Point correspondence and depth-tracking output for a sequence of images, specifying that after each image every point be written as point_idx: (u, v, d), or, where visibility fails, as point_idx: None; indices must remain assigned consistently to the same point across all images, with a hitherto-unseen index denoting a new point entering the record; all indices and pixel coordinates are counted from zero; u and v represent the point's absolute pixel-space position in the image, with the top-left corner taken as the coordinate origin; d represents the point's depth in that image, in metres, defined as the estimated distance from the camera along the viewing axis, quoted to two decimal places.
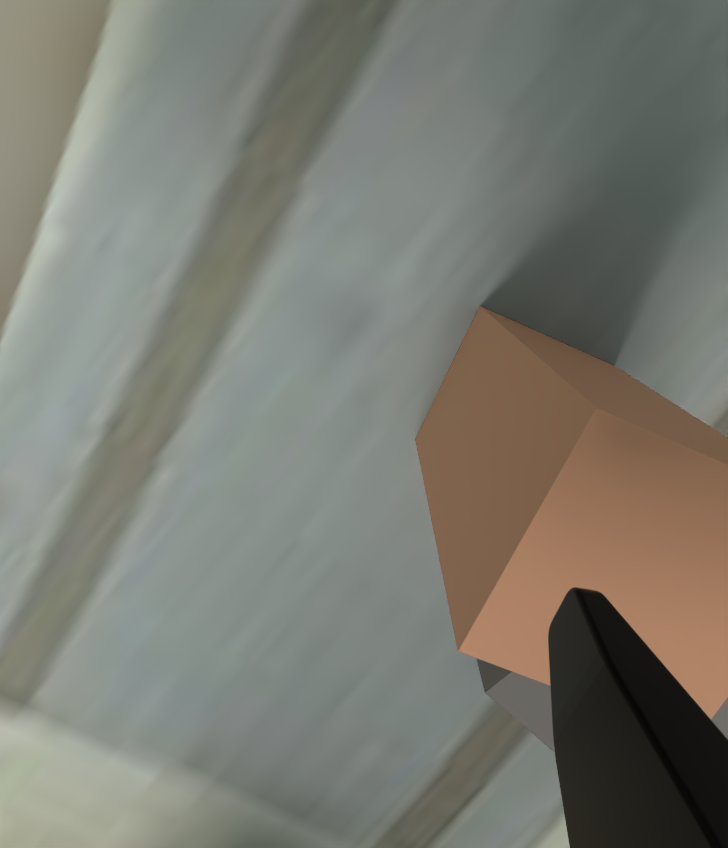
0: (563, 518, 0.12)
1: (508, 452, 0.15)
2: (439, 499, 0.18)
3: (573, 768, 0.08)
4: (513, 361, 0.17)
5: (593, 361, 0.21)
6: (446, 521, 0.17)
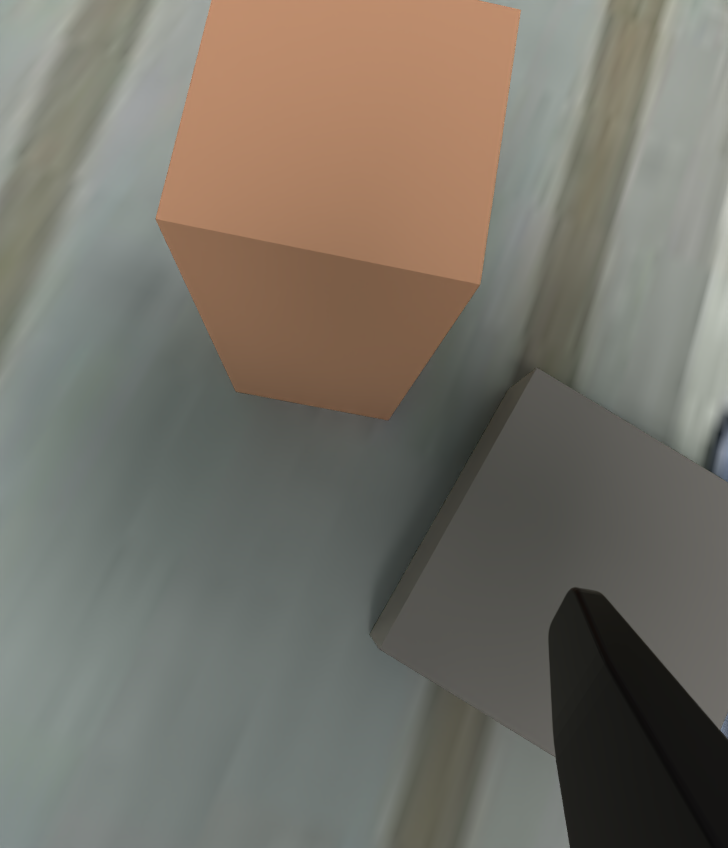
0: (230, 49, 0.11)
1: None
2: None
3: (573, 768, 0.08)
4: None
5: None
6: None
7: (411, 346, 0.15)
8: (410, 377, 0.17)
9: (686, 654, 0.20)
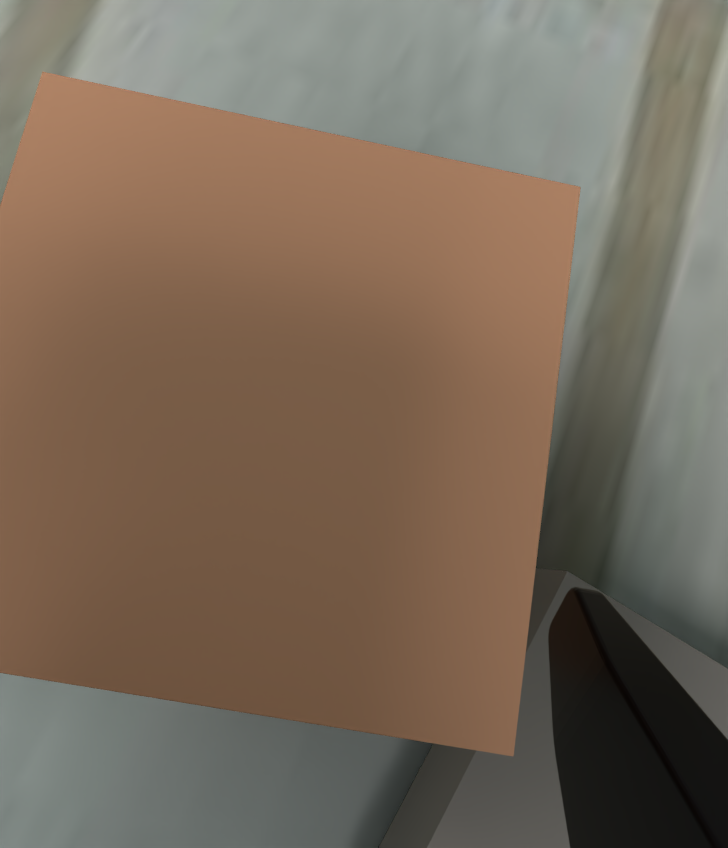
0: (37, 278, 0.06)
1: None
2: None
3: (573, 768, 0.08)
4: None
5: None
6: None
7: None
8: None
9: None
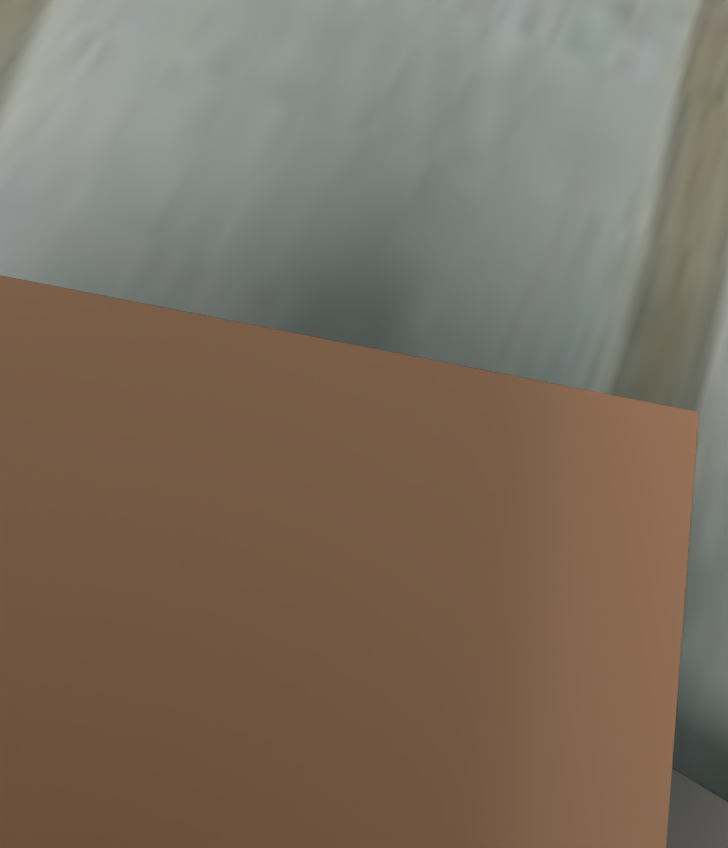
0: None
1: None
2: None
3: None
4: None
5: None
6: None
7: None
8: None
9: None
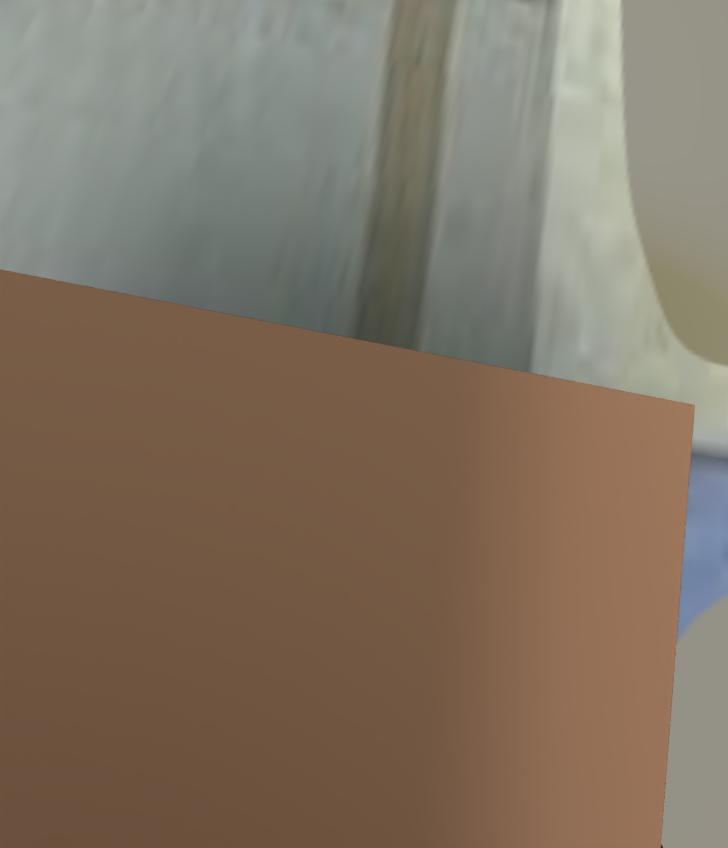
0: None
1: None
2: None
3: None
4: None
5: None
6: None
7: None
8: None
9: None
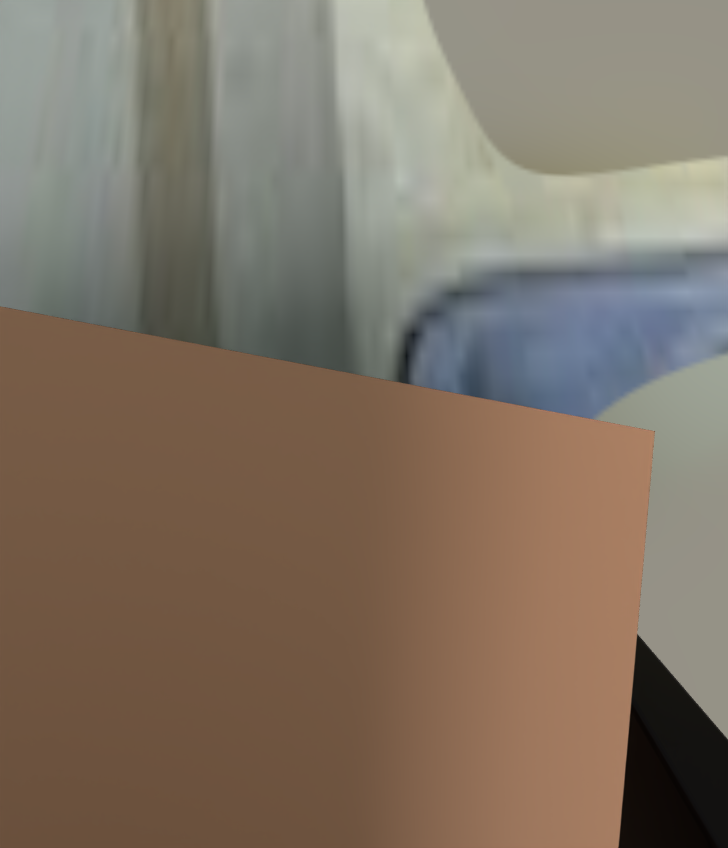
0: None
1: None
2: None
3: None
4: None
5: None
6: None
7: None
8: None
9: None
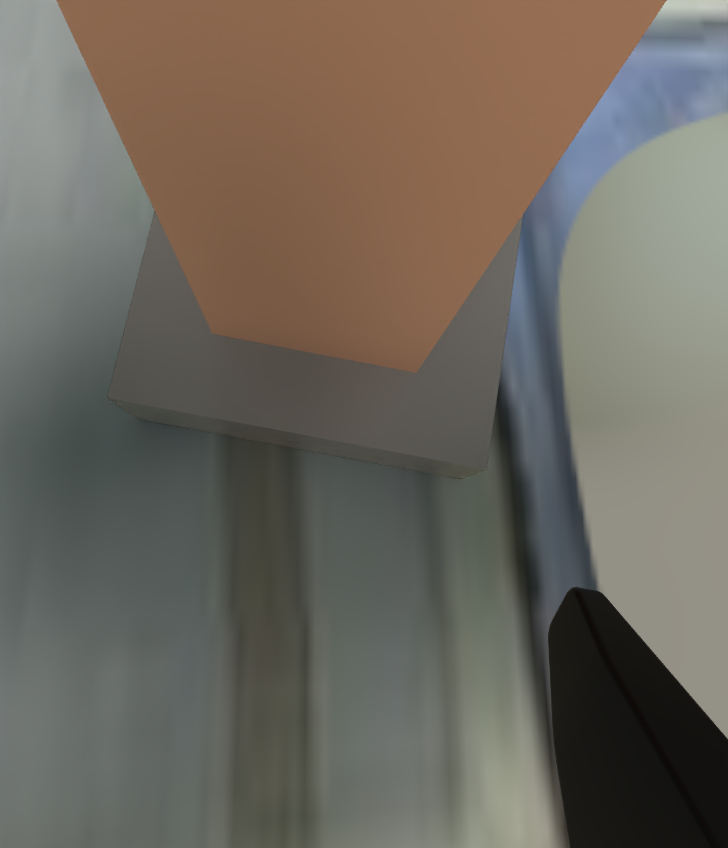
0: None
1: None
2: None
3: (573, 768, 0.08)
4: None
5: None
6: None
7: (480, 213, 0.09)
8: (463, 286, 0.11)
9: None
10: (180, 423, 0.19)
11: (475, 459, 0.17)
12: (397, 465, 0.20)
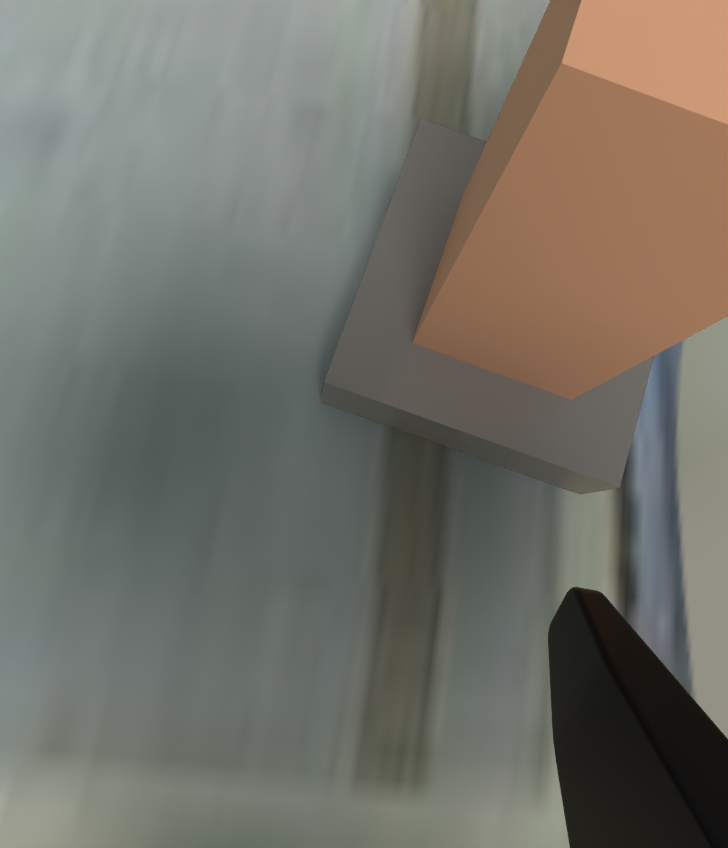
0: None
1: (551, 23, 0.12)
2: (466, 232, 0.15)
3: (573, 768, 0.08)
4: (524, 63, 0.15)
5: None
6: (485, 196, 0.13)
7: (720, 296, 0.13)
8: (668, 341, 0.15)
9: None
10: (361, 411, 0.23)
11: (611, 478, 0.21)
12: (531, 474, 0.23)
